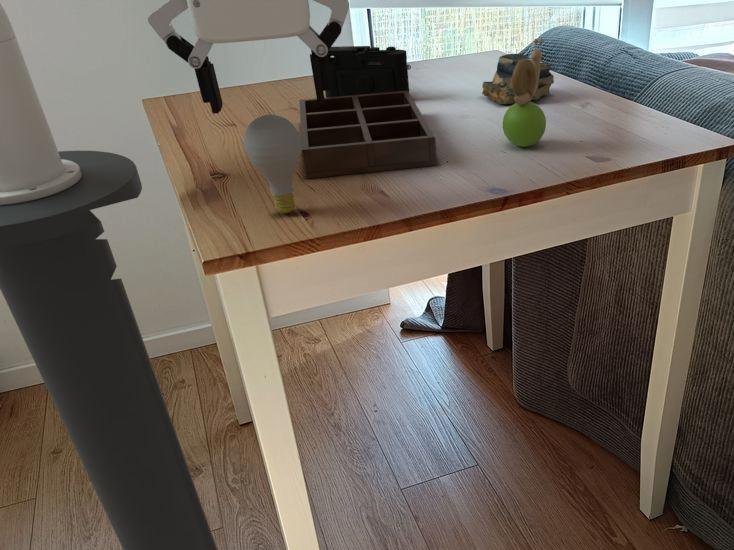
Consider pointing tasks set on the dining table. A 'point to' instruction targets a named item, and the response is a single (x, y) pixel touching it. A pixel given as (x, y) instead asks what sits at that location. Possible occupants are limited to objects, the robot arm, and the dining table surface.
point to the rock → (502, 80)
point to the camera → (366, 70)
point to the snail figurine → (525, 103)
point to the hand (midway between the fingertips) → (270, 104)
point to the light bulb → (275, 156)
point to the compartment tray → (364, 134)
